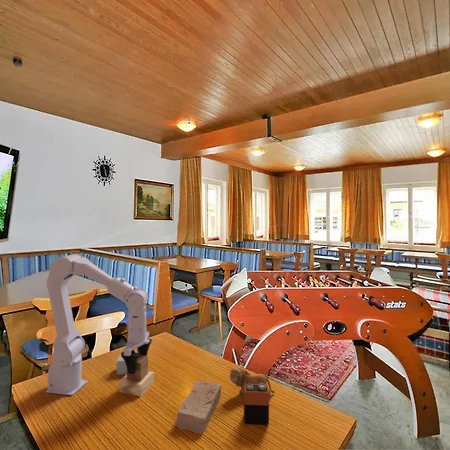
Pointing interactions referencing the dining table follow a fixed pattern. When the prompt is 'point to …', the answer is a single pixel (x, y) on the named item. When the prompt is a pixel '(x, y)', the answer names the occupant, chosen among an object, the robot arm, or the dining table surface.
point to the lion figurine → (247, 379)
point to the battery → (256, 404)
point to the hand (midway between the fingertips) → (137, 367)
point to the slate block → (121, 366)
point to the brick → (198, 407)
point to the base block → (136, 385)
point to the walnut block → (139, 369)
